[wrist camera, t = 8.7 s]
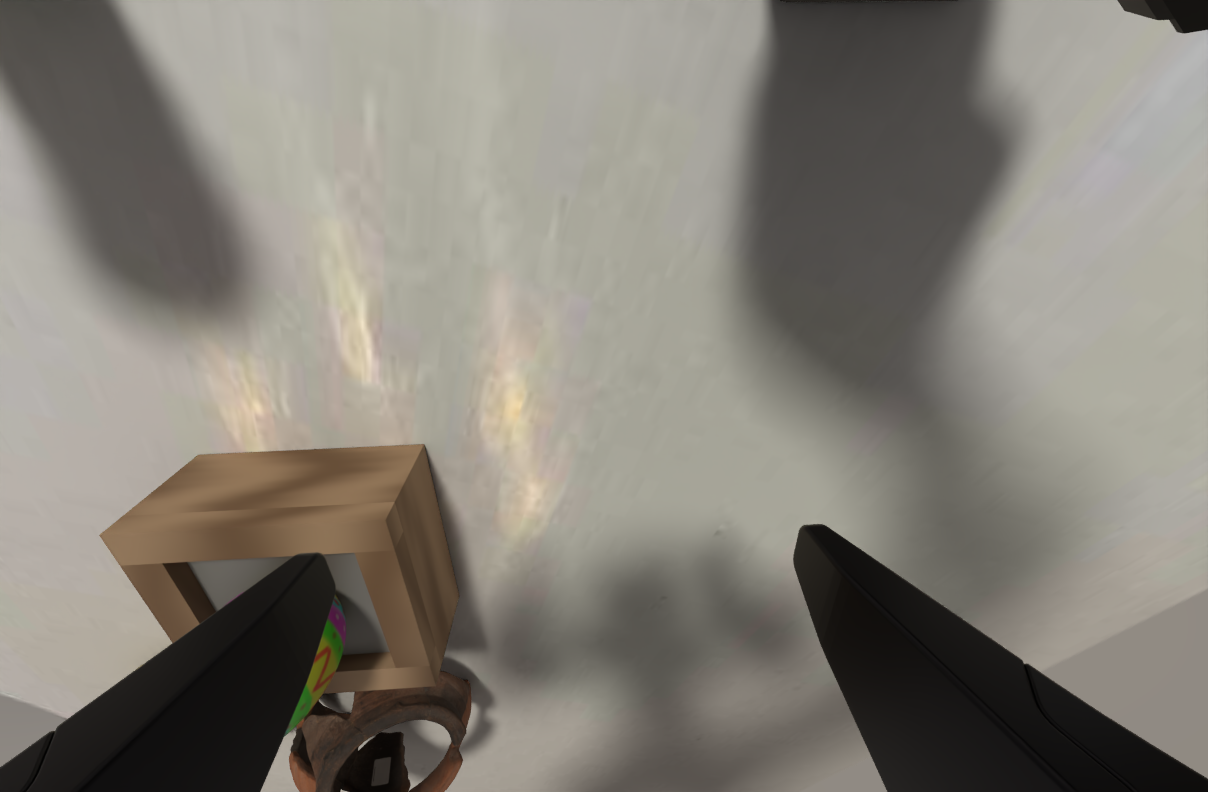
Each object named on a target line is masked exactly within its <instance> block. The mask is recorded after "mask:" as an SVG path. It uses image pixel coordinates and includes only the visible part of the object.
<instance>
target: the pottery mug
mask: <svg viewBox="0 0 1208 792" xmlns="http://www.w3.org/2000/svg"><path fill="white" fill-rule="evenodd" d="M470 713H471V688H470V684H469V681H468V680H464V681H463V680H462V679H460V678H458V677H456V676H454V675H452V674H450V673H447V672H444V671H440V673H439V676H438V680H437V684H436V686H430V687H415V688H400V689H386V690H371V691H356V692H355V694H354V703H353V708H352V712H351V714H346V713H339V712H336V711H334V710H332V709H330V708H328V707H325V706H323V705H322V704H321V703H320V702H319V700H318V701H317V703H316V704H315V705H314V707H313V708H312V709H311V710H310V711H309V713H308V714H307V715H306V716H305V717H304V718H303V719H302V720H301V721H300V722H299V723H298V724H297V730H296V736H295V738H294V740H293V745H292V747H291V754H290V756H289V763H290V770H291V772H292V776H293V780H294V782H295V785H296V787H297V788H298V790H299V791H300V792H340V790H341V789H342V790H344V791H348V792H408V791H409V788H410V781H409V779H408V771H407V768H406V766H405V764H404V761H405V759H404V753H405V747H404V745H403V737H404V735H403V734H402V733H401V732H395V733H384V732H381V731H382V730H384V729H387V728H389V727H391V726H394V725H396V724H399V723H402V722H405V721H411V720H428V721H432V722H436V723H438V724H440V725H442V726H443V727H445V728H446V730H447V731H448V732H449V734H450V737H451V740H452V742H451V744H450V746H449V749H448V751H447V753H446V755H445V757H444V758H443V760H442V761H441V762H440V764H439V765H438V766H437V768H436V769H435V770H434V771H433V772H432V773H431V774H430V775H429V776H428V777H427V778H426V779H424V780H423V781H422V782H421V783H420V784H418V785H417V786H415V787H414V788H412V789H411V790H410V791H409V792H444V791H445V790H447V788H448V787H449V785H450V784H451V783H452V781H453V780H454V779H455V777H456V775H457V773H458V771H459V769H460V767H461V765H462V761H463V759H462V756H461V754H460V752H459V747H460V745H461V743H462V740H463V738H464V736H465V734H466V728H467V724H468V720H469V717H470ZM378 732H380V733H378ZM376 733H378V734H377V735H376V736H375V737H374V738H373V739H371V740H370V741H368V742H367V743H366V744H365V745H364V746H363V747H362V748H361V749H360V750H359V751H358V747H359V746H360V745H361V744H362V743H363V742H364V741H366V740H367V739H368V738H370V737H372V736H373V735H375V734H376Z"/></svg>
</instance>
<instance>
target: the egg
mask: <svg viewBox="0 0 1208 792" xmlns="http://www.w3.org/2000/svg"><path fill="white" fill-rule="evenodd" d="M242 593H243V592H242ZM242 593H241V594H242ZM239 595H240V594H239ZM239 595H238V596H239ZM238 596H236V597H238ZM236 597H235V598H236ZM235 598H233V599H235ZM233 599H232V600H233ZM232 600H231V601H232ZM231 601H229V602H231ZM229 602H228V603H229ZM228 603H227V604H228ZM223 607H224V606H223ZM345 638H346V620H345V614H344V611H343V608H342V605H341V603H340V601H339V599H338V597H337V596H336V595H335V597H334V601H333V604H332V607H331V610H330V613H329V616H328V620H327V623H326V626H325V629H324V632H323V635H322V638H321V642H320V645H319V648H318V651H317V654H316V657H315V660H314V664H313V667H312V670H311V672H310V675H309V678H308V681H307V683H306V686H305V688H304V691H303V693H302V696H301V698H300V700H299V703H298V705H297V707H296V710H295V712H294V714H293V717H292V719H291V721H290V724H289V726H288V728H287V731H286V733H285V735H284V736H286V735H287V734H288V733H289V732H290V731H291V730H292V729H293V728H294V727H295V726H296V725H297V724H298V723H299V722H300V721H301V720H302V719H303V718H304V717H305V716H306V715H307V714H308V713H309V711H310V710H311V709H312V708H313V707H314V705H315V704H316V703H317V701H318V700H319V699H320V697H321V696H322V694H323V693H324V691H325V690H326V688H327V686H328V685H329V683H330V681H331V679H332V678H333V676H334V674H335V672H336V669H337V667H338V665H339V662H340V659H341V656H342V653H343V649H344V645H345Z"/></svg>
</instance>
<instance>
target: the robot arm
mask: <svg viewBox="0 0 1208 792" xmlns="http://www.w3.org/2000/svg"><path fill="white" fill-rule="evenodd" d="M780 1H784V2H862V1H957V0H780ZM1118 2H1119V3H1120V5H1121V6H1122V8H1123V9H1124V11H1127V12H1131V13H1134V14H1138V15H1141V16H1145V17H1148V18H1152V19H1155V20H1170V22H1171V23H1172V25H1173V26H1174V28H1175V29H1176V31H1177V32H1179V33H1190V32H1196V31H1202V30H1208V0H1118ZM793 562H794V568H795V571H796V574H797V577H798V580H799V583H800V586H801V589H802V592H803V595H804V598H805V601H806V603H807V606H808V609H809V612H810V615H811V618H812V621H813V624H814V627H815V630H816V633H817V636H818V638H819V641H820V644H821V647H822V649H823V651H824V654H825V656H826V658H827V660H828V663H829V665H830V667H831V669H832V671H833V674H834V676H835V678H836V680H837V682H838V685H839V687H840V689H841V691H842V693H843V696H844V698H845V700H846V702H847V704H848V706H849V709H850V711H851V713H852V715H853V717H854V720H855V722H856V724H857V726H858V728H859V731H860V733H861V735H862V737H863V739H864V741H865V744H866V746H867V748H868V750H869V752H870V755H871V757H872V759H873V761H874V763H875V766H876V768H877V770H878V772H879V774H880V776H881V778H882V781H883V783H884V785H885V787H886V790H887V792H1208V779H1207V778H1206V777H1204V776H1202V775H1201V774H1199V773H1197V772H1196V771H1194V770H1193V769H1191V768H1189V767H1187V766H1186V765H1184V764H1183V763H1181V762H1179V761H1178V760H1176V759H1174V758H1173V757H1171V756H1169V755H1168V754H1166V753H1165V752H1163V751H1161V750H1160V749H1158V748H1156V747H1155V746H1153V745H1151V744H1150V743H1148V742H1147V741H1145V740H1143V739H1142V738H1140V737H1139V736H1137V735H1136V734H1134V733H1133V732H1131V731H1129V730H1128V729H1126V728H1125V727H1123V726H1121V725H1120V724H1118V723H1117V722H1115V721H1113V720H1112V719H1110V718H1108V717H1107V716H1105V715H1104V714H1102V713H1101V712H1099V711H1098V710H1096V709H1095V708H1093V707H1092V706H1090V705H1088V704H1087V703H1086V702H1084V701H1083V700H1081V699H1080V698H1078V697H1077V696H1075V695H1073V694H1072V693H1070V692H1069V691H1067V690H1066V689H1064V688H1063V687H1061V686H1060V685H1058V684H1057V683H1055V682H1054V681H1052V680H1051V679H1050V678H1048V677H1047V676H1045V675H1044V674H1042V673H1041V672H1039V671H1038V670H1036V669H1035V668H1033V667H1032V666H1031V665H1029V664H1024V663H1023V661H1022V660H1021V659H1020V658H1019V657H1017V656H1016V655H1014V654H1013V653H1011V652H1010V651H1008V650H1007V649H1005V648H1004V647H1003V646H1001V645H1000V644H998V643H997V642H995V641H994V640H992V639H991V638H989V637H988V636H986V635H985V634H984V633H982V632H981V631H979V630H978V629H976V628H975V627H973V626H972V625H970V624H969V623H967V622H966V621H965V620H963V619H962V618H960V617H959V616H957V615H956V614H954V613H953V612H951V611H950V610H948V609H947V608H946V607H944V606H943V605H941V604H940V603H938V602H937V601H935V600H934V599H932V598H931V597H929V596H928V595H927V594H925V593H924V592H922V591H921V590H919V589H918V588H916V587H915V586H913V585H912V584H910V583H909V582H908V581H906V580H905V579H903V578H902V577H900V576H899V575H897V574H896V573H894V572H893V571H891V570H890V569H888V568H887V567H886V566H884V565H883V564H881V563H880V562H878V561H877V560H875V559H874V558H872V557H871V556H869V555H868V554H867V553H865V552H864V551H862V550H861V549H859V548H858V547H856V546H855V545H853V544H852V543H850V542H849V541H848V540H846V539H845V538H843V537H842V536H840V535H839V534H837V533H836V532H834V531H833V530H831V529H830V528H829V527H827V526H825V525H823V524H813V525H803V526H802V527H801V528H800V530H799V533H798V538H797V542H796V547H795V551H794V556H793ZM335 593H336V584H335V581H334V578H333V576H332V573H331V571H330V568H329V566H328V563H327V561H326V558H325V556H324V555H323V554H322V553H319V552H313V553H300V554H297V555H295V556H293V557H292V558H290V559H289V560H287V561H286V562H285V563H283V564H282V565H280V566H279V567H278V568H276V569H275V570H274V571H272V572H271V573H269V574H268V575H267V576H265V577H264V578H262V579H261V580H260V581H258V582H257V583H256V584H254V585H253V586H251V587H250V588H249V589H247V590H246V591H244V592H243V593H242V594H240V595H239V596H238V597H236V598H235V599H233V600H232V601H231V602H229V603H228V604H226V605H225V606H224V607H222V608H221V609H220V610H218V611H217V612H215V613H214V614H213V615H211V616H210V617H208V618H207V619H206V620H204V621H203V622H202V623H200V624H199V625H197V626H196V627H195V628H193V629H192V630H190V631H189V632H188V633H186V634H185V635H183V636H182V637H181V638H179V639H178V640H177V641H175V642H174V643H172V644H171V645H170V646H168V647H167V648H165V649H164V650H163V651H161V652H160V653H159V654H157V655H156V656H154V657H153V658H152V659H150V660H149V661H147V662H146V663H145V664H143V665H142V666H141V667H139V668H138V669H136V670H135V671H134V672H132V673H131V674H129V675H128V676H127V677H125V678H124V679H122V680H121V681H120V682H118V683H117V684H116V685H114V686H113V687H111V688H110V689H109V690H107V691H106V692H104V693H103V694H102V695H100V696H99V697H98V698H96V699H95V700H93V701H92V702H91V703H89V704H88V705H86V706H85V707H84V708H82V709H81V710H79V711H78V712H77V713H75V714H74V715H73V716H71V717H70V718H68V719H67V720H66V721H64V722H63V723H62V724H60V725H59V726H58V727H57V728H56V731H51V732H49V733H48V734H46V735H45V736H43V737H42V738H41V739H39V740H38V741H36V742H35V743H34V744H32V745H31V746H29V747H28V748H27V749H25V750H24V751H23V752H21V753H20V754H18V755H17V756H16V757H14V758H13V759H11V760H10V761H9V762H7V763H6V764H4V765H3V766H1V767H0V792H260V791H261V789H262V786H263V784H264V782H265V779H266V777H267V775H268V772H269V770H270V768H271V765H272V763H273V761H274V758H275V756H276V754H277V752H278V749H279V747H280V745H281V742H282V740H283V738H284V735H285V733H286V731H287V728H288V726H289V724H290V721H291V719H292V717H293V714H294V712H295V710H296V707H297V705H298V703H299V700H300V698H301V696H302V693H303V691H304V688H305V686H306V683H307V681H308V678H309V675H310V672H311V670H312V667H313V664H314V660H315V657H316V654H317V651H318V648H319V645H320V642H321V638H322V635H323V632H324V629H325V626H326V623H327V620H328V616H329V613H330V610H331V607H332V604H333V601H334V597H335Z"/></svg>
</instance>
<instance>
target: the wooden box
mask: <svg viewBox="0 0 1208 792" xmlns="http://www.w3.org/2000/svg"><path fill="white" fill-rule="evenodd" d="M99 536H100V537H101V538H102V540H103V541H104V543H105V544H106V546H107V547H108V549H109V550H110V552H111V553H112V555H113V556H114V558H115V559H116V560H117V562H118V563H119V565H120V566H121V568H122V569H123V571H124V572H125V574H126V575H127V577H128V578H129V580H130V581H131V583H132V584H133V585H134V587H135V588H136V590H137V591H138V593H139V594H140V596H141V597H142V599H143V600H144V602H145V603H146V605H147V606H148V607H149V609H150V610H151V612H152V613H153V615H154V616H155V618H156V619H157V621H158V622H159V624H160V625H161V627H162V628H163V629H164V631H165V632H166V634H167V635H168V637H169V638H170V640H171V641H172V643H174V642H175V641H177V640H178V639H179V638H181V637H182V636H183V635H185V634H186V633H188V632H189V631H190V630H192V629H193V628H195V627H196V626H197V625H199V624H200V623H202V622H203V621H204V620H206V619H207V618H208V617H210V616H211V615H213V614H214V613H215V612H217V611H218V610H220V609H221V608H222V607H223V606H225V605H226V604H227V603H228V602H229V601H231V600H232V599H233V598H235V597H236V596H238V595H239V594H241V593H242V592H244V591H246V590H247V589H249V588H250V587H251V586H253V585H254V584H256V583H257V582H258V581H260V580H261V579H262V578H264V577H265V576H267V575H268V574H269V573H271V572H272V571H274V570H275V569H276V568H278V567H279V566H280V565H282V564H283V563H285V562H286V561H287V560H289V559H290V558H292V557H293V556H295V555H297V554H300V553H313V552H319V553H322V554H323V555H324V556H325V558H326V561H327V563H328V566H329V568H330V571H331V573H332V576H333V578H334V581H335V584H336V593H335V595H336V596H337V597H338V599H339V601H340V603H341V605H342V608H343V611H344V614H345V620H346V638H345V645H344V649H343V653H342V656H341V659H340V662H339V665H338V667H337V669H336V672H335V674H334V676H333V678H332V679H331V681H330V683H329V685H328V686H327V688H326V690H325V691H324V693H323V694H326V693H341V692H356V691H371V690H386V689H400V688H415V687H430V686H436V684H437V680H438V676H439V673H440V669H441V665H442V661H443V657H444V653H445V649H446V645H447V641H448V638H449V634H450V630H451V626H452V622H453V618H454V614H455V610H456V607H457V603H458V599H459V592H458V588H457V584H456V579H455V575H454V571H453V567H452V562H451V558H450V554H449V549H448V545H447V541H446V536H445V532H444V528H443V524H442V519H441V515H440V511H439V506H438V502H437V498H436V493H435V489H434V485H433V481H432V476H431V472H430V468H429V463H428V459H427V455H426V450H425V446H424V444H421V445H399V446H378V447H357V448H335V449H314V450H293V451H271V452H250V453H228V454H207V455H197V456H196V457H195V458H194V459H193V460H191V461H190V462H189V463H188V464H186V465H185V466H184V467H183V468H181V469H180V470H179V471H178V472H177V473H175V474H174V475H173V476H172V477H170V478H169V479H168V480H167V481H165V482H164V483H163V484H162V485H161V486H159V487H158V488H157V489H156V490H154V491H153V492H152V493H151V494H149V495H148V496H147V497H146V498H145V499H143V500H142V501H141V502H140V503H138V504H137V505H136V506H135V507H133V508H132V509H131V510H130V511H128V512H127V513H126V514H125V515H124V516H122V517H121V518H120V519H119V520H117V521H116V522H115V523H114V524H112V525H111V526H110V527H109V528H108V529H106V530H105V531H104V532H103V533H101V534H100V535H99Z"/></svg>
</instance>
